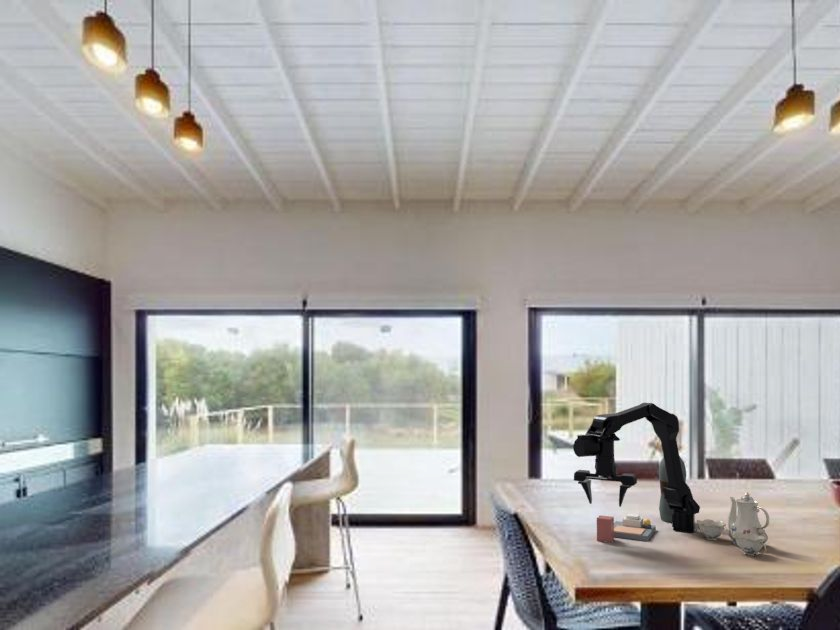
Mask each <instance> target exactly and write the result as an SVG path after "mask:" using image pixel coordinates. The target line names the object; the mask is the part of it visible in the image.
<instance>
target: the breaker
mask: <svg viewBox="0 0 840 630" xmlns="http://www.w3.org/2000/svg"><path fill="white" fill-rule="evenodd" d="M625 516H626V519H629V520H638V521H639V520H640V517H641V516H640V514H636V513H627V515H625Z"/></svg>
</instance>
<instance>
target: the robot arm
mask: <svg viewBox="0 0 840 630" xmlns="http://www.w3.org/2000/svg"><path fill="white" fill-rule="evenodd" d="M644 418H645V419H646V421H648V422H649V423H651V426H652V428H653V431H654V433H655V435H656V436H657V437H658V439H659V440H660V443H661V449H662V454H663V457H664V461H665V466H666V471H667V477H668V484H667V486H666V487H664V488H663V491H664V495H665V497H664V499H666V501H667V503H668V505H669V508H670V509H672V510H674V514H673V515H672V523H671V526H672V531H677V532H684V533H695V531H696V530H697V529H696V528H697V527H696V525H695V524H696V523H695V521H696V520H695V519H696V518H695V517H696V516H695V515H696V514H699V513H700V509H701V506H700V505H699V503H697V501H696V500H695V499H694V496H693V494H692V490H691V488H690V487H689V485H688V484H687V482H685V481H684V478H683V473H682V468H681V462H680V457H681V456H680V452H679V448H678V443H677V442H678V441H677V437H678V434H679V432H680V423H679V421H680V420H679V418H678V415H676V414H674V413H670V412H669V411H666V410H664V409H663V408H661V407H659V406H657V404H655V403H652V402H641V403H640V404H638V405H635V406H632V407H629V408H627V409H624V410H621V411H619V412H616V413H603V414H598V415H597V414H596V415H595V416H594V417H593V419H592V422H591V424H590V426H589V427H588V429H587V431H586V433H585V434H577V435H576V436H577V438H576V439H575V440H574V442H573V445H572V447H573V448H572V449H573V452H574V454H575V456H576V457H578V458H581V457H595V459H594V460H595V463H594V469H595V473H592V472H591V471H590V470H587V469H586V470H585V469H578V470H576V471H575V472H574V474H573V481H575V482H576V481H577V484H579V485H581V487H582V489H583V491H584V493H585V495H586V497H587V498H586V499H587V500H588V502H589V504H590V505H592V504H593V503H592V502H593V498H592V497H593V495H592V487H591V485H592V480H596V481H605V482H606V481H607V482H620V483H621V484H620V485H619V493H618V495H619V497H618V507H620V508H621V507H622V505H623V502H624V498H625V497H626V496H625V495H626V493H627V491H628V489H630V488H632V487H634V486H635V485H636V484H637V483H638V478H637V477H638V476H637V475H636V473H625V472H624V473H622V474H621V475H618V467H619V466H618V464H616V462H615V461H616V460H615V442H618V441H620V437H618V436H617V435H616V433H618V432H619V431H620V430H621V428H622V427H624V426H625V425H628V424H631V423H633V422H636V421H639V420H642V419H644ZM679 456H680V457H679Z"/></svg>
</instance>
